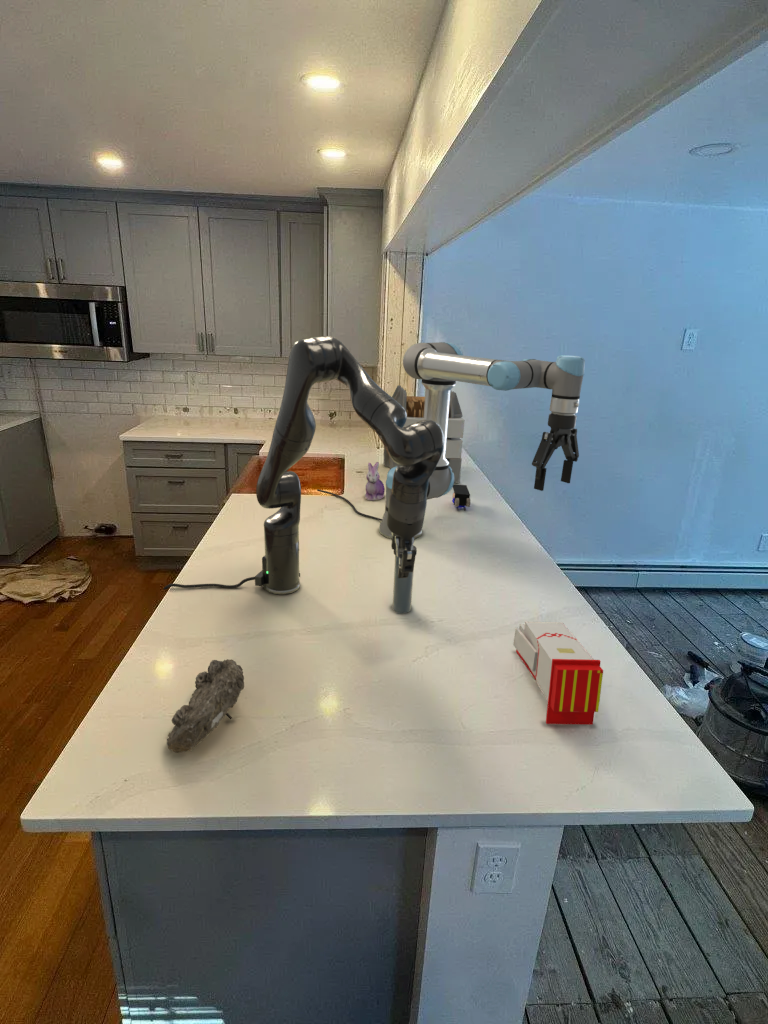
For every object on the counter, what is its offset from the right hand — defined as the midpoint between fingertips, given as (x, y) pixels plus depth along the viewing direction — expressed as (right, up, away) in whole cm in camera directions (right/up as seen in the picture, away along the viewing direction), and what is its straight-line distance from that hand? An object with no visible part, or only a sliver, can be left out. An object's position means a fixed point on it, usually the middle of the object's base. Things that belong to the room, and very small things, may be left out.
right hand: (552, 485), depth 166 cm
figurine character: (-18, -5, +65) cm, 68 cm away
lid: (-44, -17, -21) cm, 51 cm away
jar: (-44, -33, -15) cm, 58 cm away
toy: (-14, -44, -43) cm, 63 cm away
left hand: (-46, -19, -40) cm, 63 cm away
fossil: (-82, -47, -57) cm, 110 cm away
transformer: (-32, +11, +109) cm, 115 cm away
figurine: (-53, -2, +71) cm, 89 cm away
